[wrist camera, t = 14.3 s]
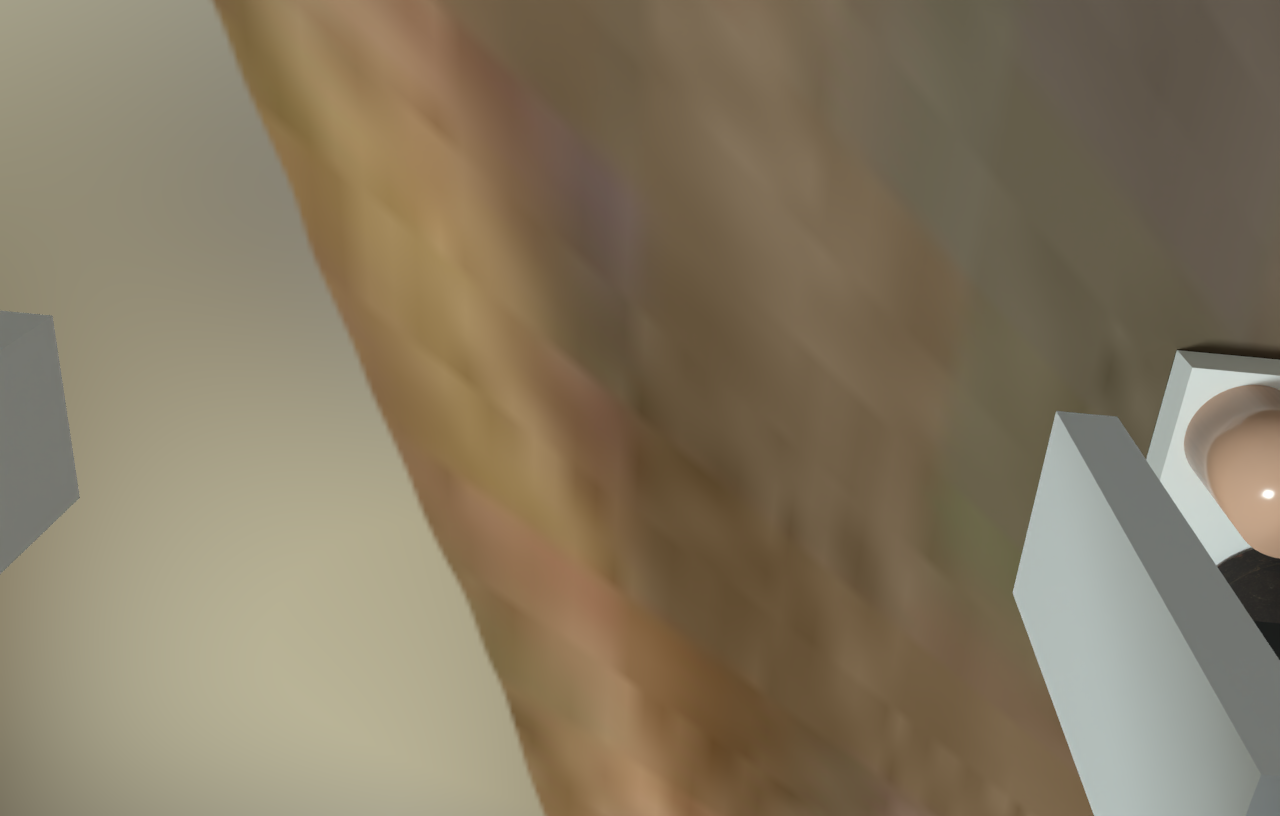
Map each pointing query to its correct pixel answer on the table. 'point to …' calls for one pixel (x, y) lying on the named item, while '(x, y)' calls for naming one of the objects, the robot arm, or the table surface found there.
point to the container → (1255, 583)
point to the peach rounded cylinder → (1241, 460)
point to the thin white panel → (1184, 396)
